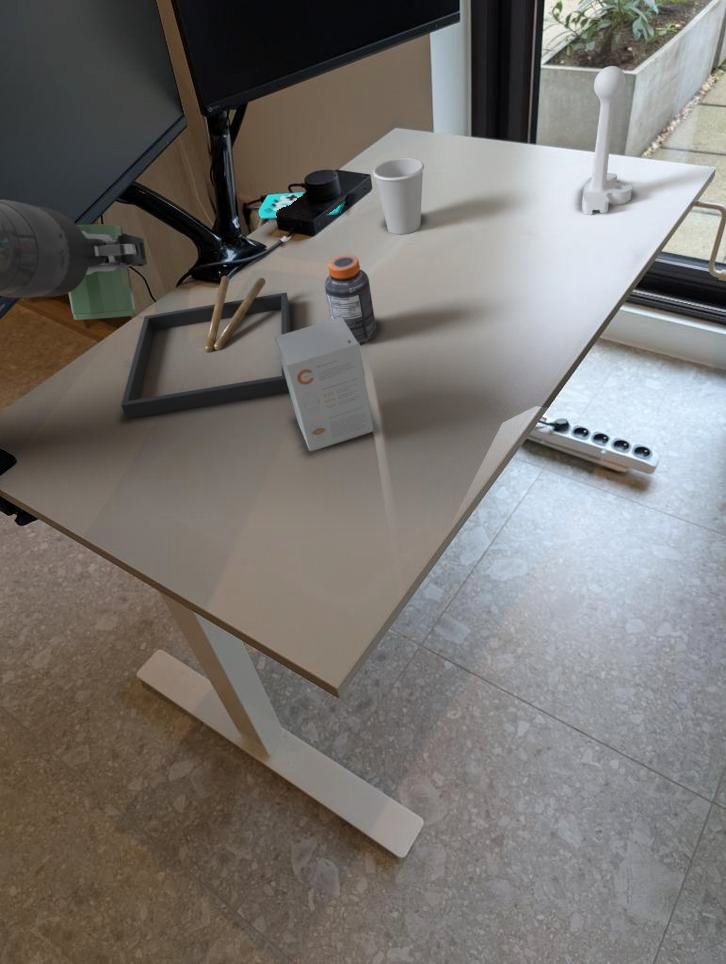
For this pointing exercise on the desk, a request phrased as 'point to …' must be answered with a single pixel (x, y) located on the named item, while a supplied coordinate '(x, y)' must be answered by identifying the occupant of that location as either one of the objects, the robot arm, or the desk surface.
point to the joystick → (605, 148)
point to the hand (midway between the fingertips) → (102, 257)
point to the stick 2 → (239, 314)
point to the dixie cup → (400, 193)
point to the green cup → (103, 286)
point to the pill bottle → (351, 297)
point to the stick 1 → (217, 314)
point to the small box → (326, 382)
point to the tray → (207, 395)
